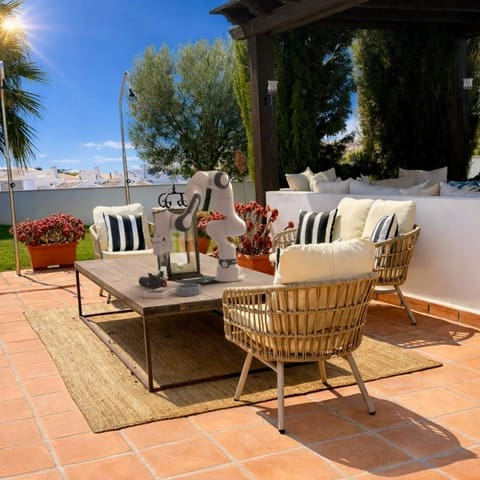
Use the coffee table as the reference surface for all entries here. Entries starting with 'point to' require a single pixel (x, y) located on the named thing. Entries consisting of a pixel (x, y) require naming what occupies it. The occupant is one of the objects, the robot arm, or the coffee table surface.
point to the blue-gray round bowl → (188, 289)
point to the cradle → (159, 292)
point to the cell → (165, 261)
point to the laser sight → (153, 280)
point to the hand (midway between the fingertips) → (164, 260)
